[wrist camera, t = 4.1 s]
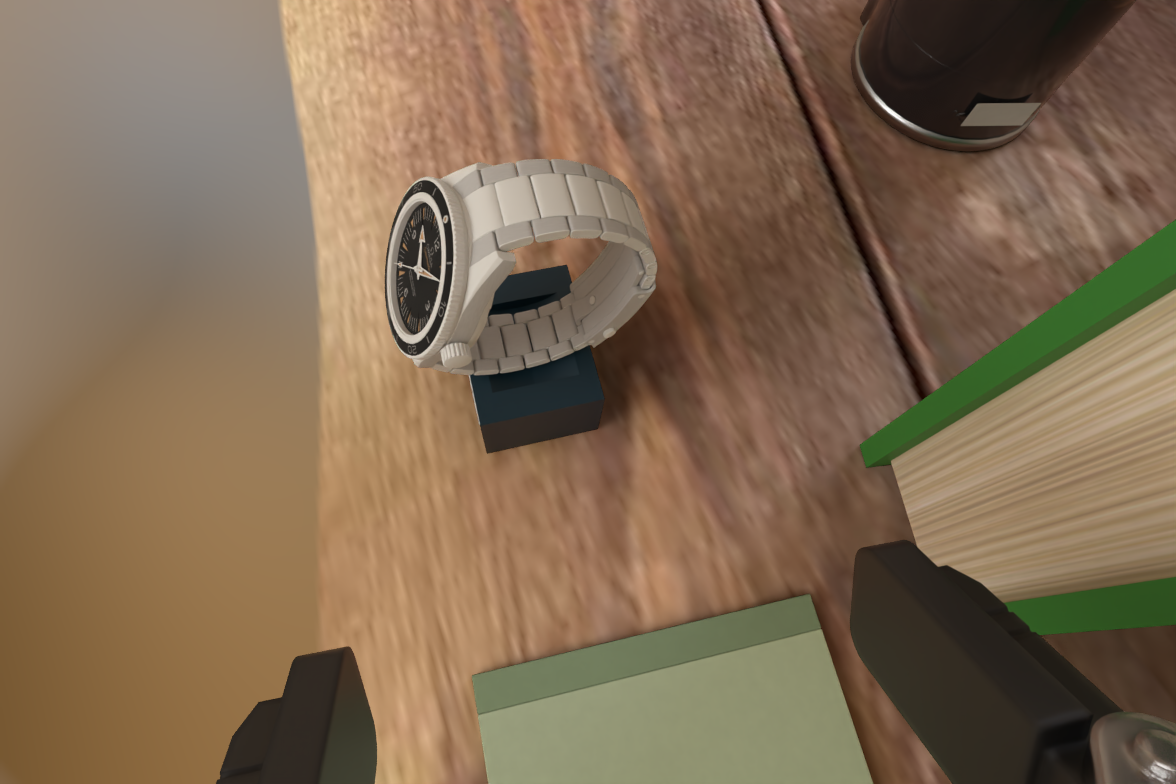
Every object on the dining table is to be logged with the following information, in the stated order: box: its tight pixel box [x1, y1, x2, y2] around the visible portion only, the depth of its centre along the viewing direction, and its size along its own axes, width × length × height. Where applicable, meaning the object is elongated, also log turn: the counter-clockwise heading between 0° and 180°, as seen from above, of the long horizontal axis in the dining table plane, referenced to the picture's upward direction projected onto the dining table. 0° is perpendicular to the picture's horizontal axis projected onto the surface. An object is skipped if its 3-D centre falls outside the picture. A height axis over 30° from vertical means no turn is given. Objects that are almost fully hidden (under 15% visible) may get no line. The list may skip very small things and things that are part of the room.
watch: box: [385, 159, 657, 453], centre depth 22 cm, size 6×8×11 cm
